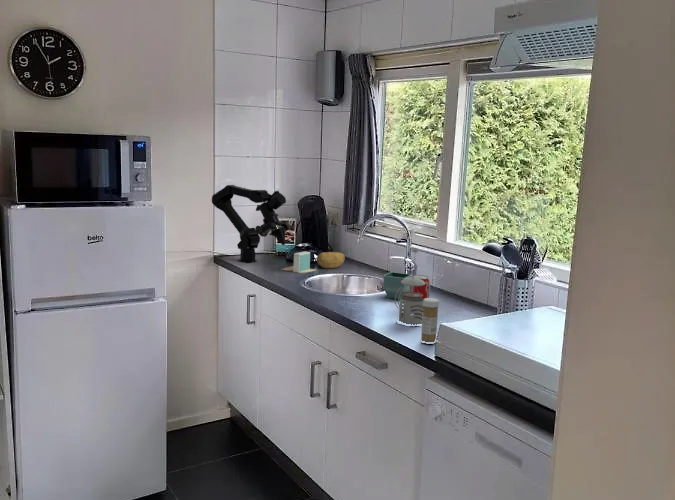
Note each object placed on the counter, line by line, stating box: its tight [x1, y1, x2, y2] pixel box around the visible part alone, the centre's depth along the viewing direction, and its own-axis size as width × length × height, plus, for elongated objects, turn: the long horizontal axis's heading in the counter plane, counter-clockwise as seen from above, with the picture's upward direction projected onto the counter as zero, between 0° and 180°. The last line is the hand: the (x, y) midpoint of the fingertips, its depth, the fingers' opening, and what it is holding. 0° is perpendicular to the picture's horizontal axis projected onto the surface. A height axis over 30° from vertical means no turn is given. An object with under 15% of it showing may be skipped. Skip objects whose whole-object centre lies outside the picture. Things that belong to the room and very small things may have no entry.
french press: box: [394, 247, 426, 325], centre depth 204 cm, size 10×12×25 cm
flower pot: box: [382, 271, 413, 300], centre depth 239 cm, size 9×9×9 cm
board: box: [281, 265, 316, 274], centre depth 279 cm, size 13×10×1 cm
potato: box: [316, 251, 346, 270], centre depth 287 cm, size 10×14×8 cm
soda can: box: [409, 274, 431, 308], centre depth 223 cm, size 7×7×12 cm
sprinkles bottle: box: [420, 297, 440, 342], centre depth 185 cm, size 5×5×13 cm
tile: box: [292, 251, 311, 273], centre depth 276 cm, size 3×8×8 cm, turn 147°
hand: (284, 244), depth 282 cm, fingers closed
